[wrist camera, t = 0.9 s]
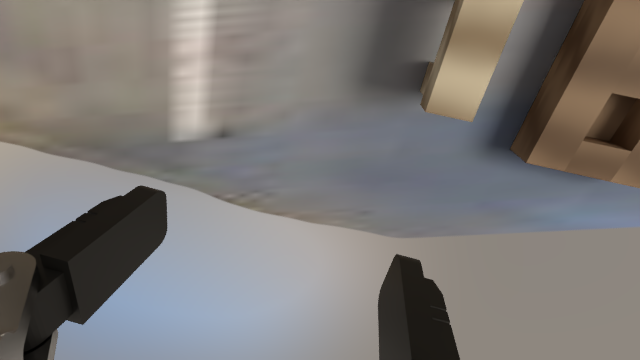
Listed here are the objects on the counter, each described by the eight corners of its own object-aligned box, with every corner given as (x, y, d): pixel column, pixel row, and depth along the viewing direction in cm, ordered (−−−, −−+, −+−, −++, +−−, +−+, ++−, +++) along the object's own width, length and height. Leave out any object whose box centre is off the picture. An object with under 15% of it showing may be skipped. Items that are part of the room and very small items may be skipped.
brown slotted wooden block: (622, -76, 25) (664, -93, 22) (776, -48, 24) (844, -61, 21) (509, 149, 34) (526, 162, 31) (619, 173, 34) (649, 190, 30)
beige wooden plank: (460, -51, 27) (491, -81, 20) (505, -43, 27) (553, -69, 20) (413, 94, 33) (425, 111, 26) (450, 102, 33) (472, 122, 26)
